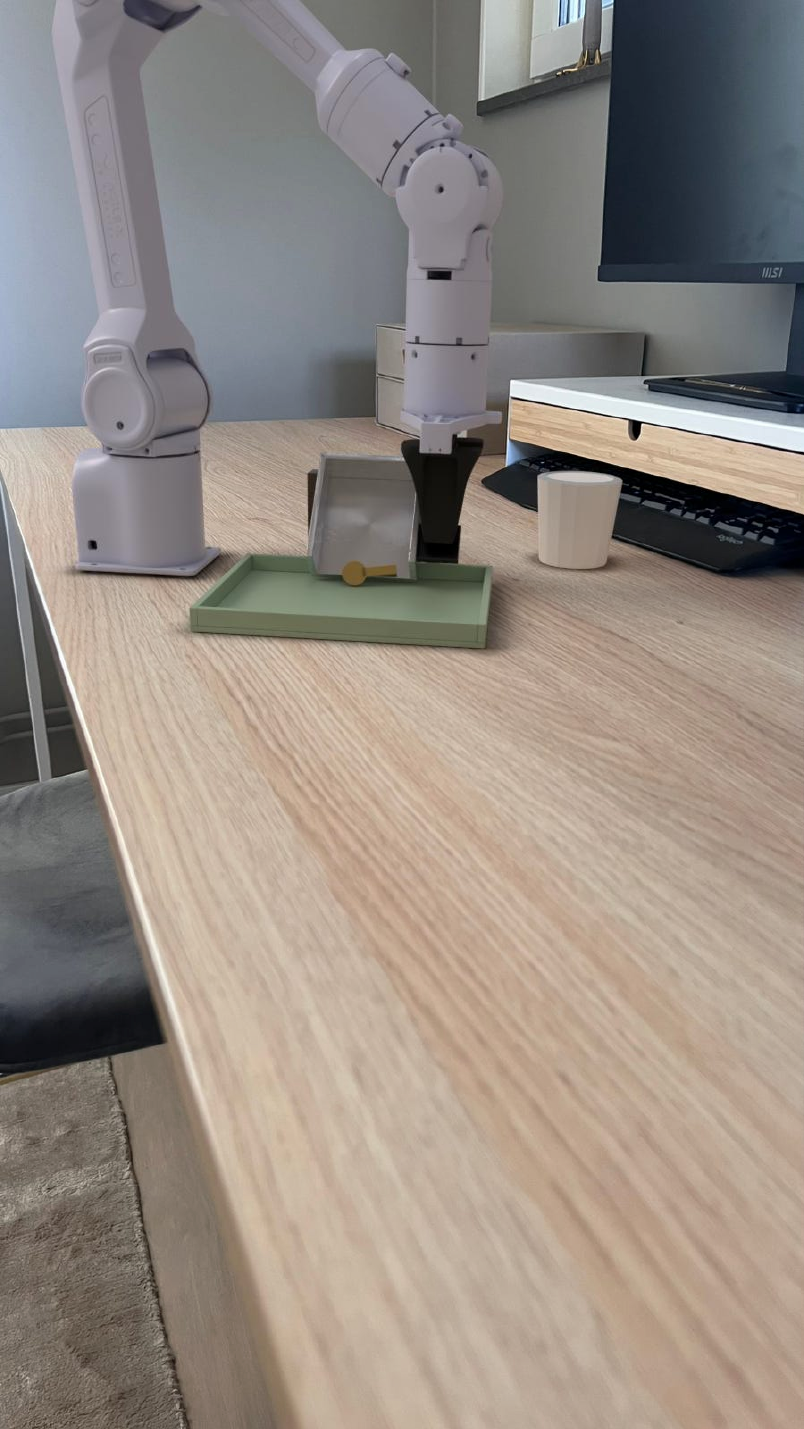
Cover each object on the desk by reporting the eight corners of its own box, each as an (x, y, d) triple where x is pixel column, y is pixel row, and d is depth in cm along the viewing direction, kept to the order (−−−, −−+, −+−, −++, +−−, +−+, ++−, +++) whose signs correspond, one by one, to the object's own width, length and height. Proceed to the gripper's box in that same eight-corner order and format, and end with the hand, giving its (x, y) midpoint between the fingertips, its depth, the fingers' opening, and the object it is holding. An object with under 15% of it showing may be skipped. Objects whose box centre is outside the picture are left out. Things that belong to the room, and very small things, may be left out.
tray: (190, 631, 67) (189, 607, 66) (247, 573, 80) (246, 553, 80) (484, 648, 65) (486, 624, 64) (491, 586, 79) (492, 565, 78)
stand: (308, 568, 82) (307, 473, 79) (312, 562, 84) (312, 468, 81) (437, 575, 81) (441, 479, 79) (439, 568, 83) (443, 474, 80)
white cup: (613, 573, 83) (622, 486, 80) (527, 567, 84) (534, 480, 82) (614, 554, 89) (622, 472, 87) (534, 548, 91) (540, 467, 88)
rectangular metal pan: (311, 576, 78) (305, 556, 75) (326, 470, 81) (321, 447, 78) (457, 584, 77) (456, 564, 74) (466, 477, 80) (466, 453, 77)
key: (343, 587, 76) (343, 586, 76) (340, 562, 76) (341, 562, 76) (397, 581, 77) (397, 581, 76) (394, 557, 77) (394, 556, 76)
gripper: (504, 351, 63) (491, 568, 68) (507, 340, 76) (496, 523, 82) (389, 347, 64) (385, 563, 69) (412, 337, 77) (408, 519, 82)
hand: (439, 541), depth 75 cm, fingers closed
